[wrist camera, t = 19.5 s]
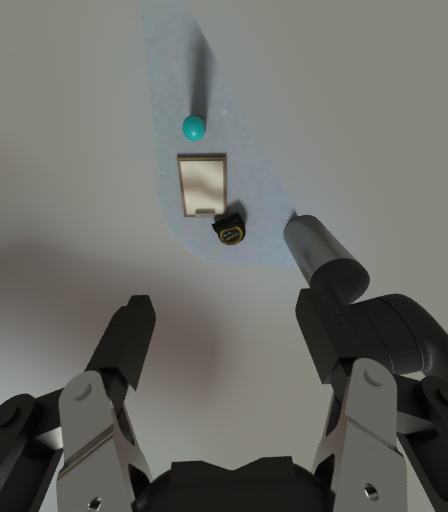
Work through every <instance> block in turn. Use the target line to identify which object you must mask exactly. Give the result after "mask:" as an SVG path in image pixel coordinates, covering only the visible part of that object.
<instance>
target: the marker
mask: <svg viewBox="0 0 448 512" xmlns="http://www.w3.org/2000/svg"><path fill="white" fill-rule="evenodd" d="M205 131H206V122H205V120H204V119H203V118H202V117H200V116H194V115H191V116H188V117H187V118H186V119H185V120H184V122H183V132H184V134H185V136H186V137H187V138H188V139H189V140H192V141H197V140H199V139H201V137H202V136H203V134H204V133H205Z"/></svg>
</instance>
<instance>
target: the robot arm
mask: <svg viewBox="0 0 448 512" xmlns="http://www.w3.org/2000/svg"><path fill="white" fill-rule="evenodd" d="M284 240H285V242H286V244H287V246H288V248H289V250H290V251H291V253H292V255H293V257H294V259H295V261H296V263H297V265H298V266H299V268H300V270H301V272H302V274H303V276H304V277H305V279H306V281H307V283H308V285H309V287H310V288H307V289H301V290H300V294H299V297H298V301H297V304H296V309H295V310H296V311H295V312H296V317H297V321H298V323H299V326H300V328H301V331H302V334H303V336H304V339H305V341H306V344H307V346H308V349H309V351H310V354H311V356H312V359H313V362H314V364H315V367H316V369H317V372H318V375H319V377H320V380H321V382H322V384H331V385H332V387H333V390H334V391H333V394H332V398H331V402H330V407H329V411H328V416H327V420H326V424H325V428H324V432H323V436H322V439H321V441H320V444H319V446H318V448H317V451H316V455H315V458H314V462H313V466H312V471H311V472H309V471H308V470H306V469H305V468H303V467H301V466H299V465H297V464H294V463H293V461H292V457H291V456H284V457H264V458H260V459H258V460H256V461H254V462H251V463H249V464H247V465H245V466H242V467H240V468H238V469H236V470H228V469H224V468H222V467H219V466H216V465H213V464H209V463H206V462H204V461H184V462H172V465H171V469H170V470H168V471H166V472H165V473H163V474H161V475H160V476H158V477H157V478H156V479H155V480H154V481H153V479H152V476H151V473H150V470H149V467H148V464H147V462H146V460H145V457H144V455H143V453H142V452H141V450H140V448H139V445H138V443H137V440H136V437H135V434H134V431H133V428H132V425H131V422H130V419H129V416H128V413H127V410H126V407H125V404H124V400H125V396H126V393H127V392H136V389H137V385H138V381H139V378H140V374H141V371H142V368H143V364H144V361H145V357H146V354H147V351H148V347H149V344H150V340H151V337H152V333H153V330H154V326H155V321H156V315H155V311H154V308H153V306H152V303H151V300H150V297H149V296H148V295H133V296H132V297H131V298H130V300H129V302H128V304H127V306H122V307H121V308H120V309H119V310H118V311H117V312H116V313H115V314H114V315H113V317H112V319H111V321H110V323H109V324H108V327H107V328H106V330H105V332H104V335H103V336H102V338H101V340H100V342H99V344H98V346H97V348H96V350H95V352H94V354H93V356H92V358H91V360H90V362H89V363H88V365H87V367H86V369H85V370H84V372H83V373H81V374H79V375H77V376H76V377H74V378H73V379H72V380H71V381H70V382H69V383H68V384H67V385H66V386H65V387H64V388H62V389H60V390H57V391H54V392H51V393H49V394H46V395H43V396H40V397H38V398H34V397H33V396H31V395H29V394H20V395H16V396H14V397H12V398H10V399H8V400H7V401H5V402H4V403H3V404H1V405H0V512H39V509H40V507H41V504H42V502H43V500H44V497H45V495H46V492H47V490H48V487H49V485H50V483H51V480H52V478H53V475H54V472H55V470H56V468H57V465H58V463H59V460H60V458H61V455H62V453H63V451H64V466H63V468H62V469H61V470H60V471H59V474H58V476H57V483H56V488H57V489H56V490H57V504H58V512H407V470H406V462H405V459H404V457H403V455H402V453H400V452H399V451H398V449H397V445H396V435H397V437H398V439H399V441H400V443H401V445H402V447H403V449H404V451H405V453H406V455H407V457H408V458H409V461H410V463H411V465H412V466H413V468H414V471H415V472H416V474H417V476H418V478H419V480H420V482H421V484H422V486H423V488H424V490H425V492H426V494H427V496H428V498H429V500H430V502H431V504H432V506H433V507H434V510H435V512H448V334H447V333H446V332H445V331H444V329H442V327H441V326H440V325H439V324H438V322H436V320H435V319H434V318H433V317H432V316H431V315H430V314H429V313H428V312H427V311H426V310H425V309H424V308H423V307H422V306H420V305H419V304H418V303H417V302H415V301H414V300H412V299H411V298H409V297H407V296H405V295H402V294H389V295H384V296H380V297H376V298H373V299H369V300H365V301H362V302H358V303H354V304H351V303H353V302H354V301H355V300H357V299H358V298H359V297H360V296H362V295H363V293H364V292H365V291H366V289H367V288H368V286H369V282H370V277H369V275H368V272H367V271H366V270H365V268H364V267H363V266H362V265H361V264H360V263H359V262H358V261H357V260H356V259H355V258H354V257H353V256H352V255H351V254H350V253H349V252H348V251H347V250H346V249H345V248H344V247H343V246H342V245H341V244H340V243H339V241H338V240H337V239H336V238H335V237H334V236H333V235H332V234H331V233H330V232H329V231H328V230H327V229H326V227H325V226H324V225H323V224H322V223H321V222H320V221H319V220H318V219H317V218H316V217H313V216H311V215H303V216H299V217H296V218H295V219H293V220H292V221H290V222H289V223H288V225H287V226H286V228H285V230H284ZM417 371H422V372H423V373H424V375H425V376H426V377H425V378H423V379H422V380H421V381H418V380H414V379H411V378H407V377H403V376H400V375H402V374H408V373H413V372H417Z"/></svg>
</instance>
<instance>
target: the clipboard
mask: <svg viewBox="0 0 448 512" xmlns="http://www.w3.org/2000/svg"><path fill="white" fill-rule="evenodd" d="M177 163H178V171H179V178H180V186H181V193H182V201H183V208H184V216H185V217H195V218H206V217H215V216H226V157H177Z"/></svg>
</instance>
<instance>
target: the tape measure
mask: <svg viewBox="0 0 448 512" xmlns="http://www.w3.org/2000/svg"><path fill="white" fill-rule="evenodd" d="M212 227H213V229H214V231H215V232H216V233H217V234H218V237H219V239H220V241H221V242H222V243H225V244H226V245H235V244H237V243H239V242H240V241H242V240H243V239H244V237H245V233H246V231H245V225H244V223H243V221H242V220H241V216H240V215H239V214H238V213H235V214H233V215H231V216H229V217H228V218H225V219H223V220H220V221H218V222H216V223H214V224H212Z"/></svg>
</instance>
